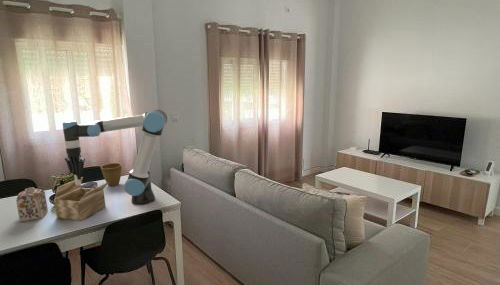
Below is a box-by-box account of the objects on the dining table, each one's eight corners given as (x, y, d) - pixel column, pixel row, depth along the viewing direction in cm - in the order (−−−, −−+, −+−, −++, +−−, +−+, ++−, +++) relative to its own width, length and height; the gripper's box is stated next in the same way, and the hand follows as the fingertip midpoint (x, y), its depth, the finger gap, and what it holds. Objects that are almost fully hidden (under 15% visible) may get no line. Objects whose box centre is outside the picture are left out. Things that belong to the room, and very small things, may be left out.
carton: (106, 206, 198) (104, 189, 195) (80, 221, 178) (78, 202, 175) (83, 204, 202) (81, 187, 200) (56, 218, 182) (53, 199, 180)
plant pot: (106, 182, 245) (104, 163, 241) (126, 181, 246) (124, 162, 243) (100, 189, 230) (97, 168, 227) (120, 188, 232) (118, 168, 228)
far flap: (55, 198, 181) (54, 198, 181) (80, 187, 198) (79, 187, 198) (58, 187, 178) (57, 187, 178) (82, 177, 196) (82, 177, 196)
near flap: (102, 189, 194) (102, 189, 194) (79, 200, 176) (79, 201, 176) (109, 181, 191) (109, 182, 191) (86, 192, 174) (86, 193, 174)
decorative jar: (41, 219, 182) (37, 190, 178) (19, 221, 179) (13, 193, 175) (48, 211, 193) (44, 184, 189) (27, 213, 190) (22, 186, 186)
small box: (88, 201, 207) (86, 186, 205) (80, 200, 209) (78, 186, 206) (99, 195, 217) (97, 181, 215) (91, 195, 219) (89, 181, 217)
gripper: (86, 146, 183) (91, 183, 188) (69, 145, 186) (74, 181, 191) (77, 148, 176) (82, 187, 181) (58, 147, 179) (64, 185, 184)
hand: (78, 184), depth 186 cm, fingers closed
